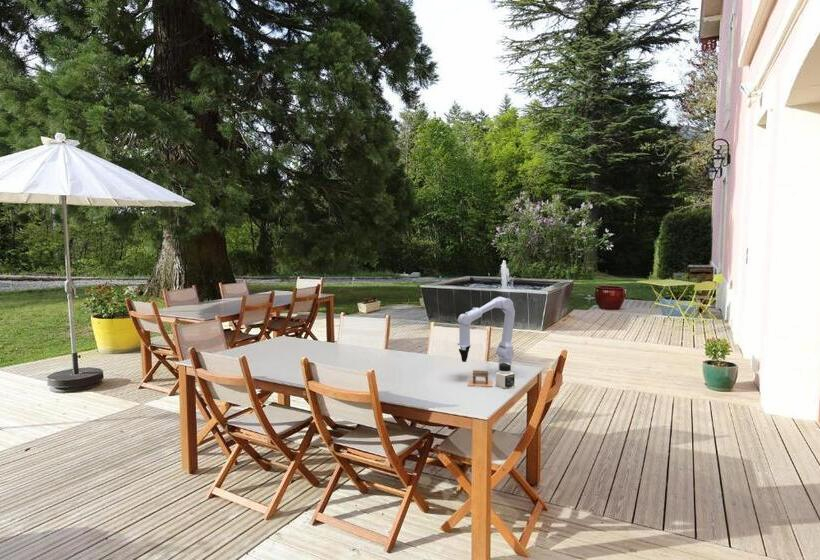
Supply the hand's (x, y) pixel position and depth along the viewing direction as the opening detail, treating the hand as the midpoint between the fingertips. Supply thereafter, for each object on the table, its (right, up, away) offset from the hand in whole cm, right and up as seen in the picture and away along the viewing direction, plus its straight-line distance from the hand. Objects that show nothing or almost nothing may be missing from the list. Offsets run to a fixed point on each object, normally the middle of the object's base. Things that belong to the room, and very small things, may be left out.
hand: (464, 360), depth 292 cm
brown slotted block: (+7, -11, -10) cm, 16 cm away
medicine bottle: (+20, -12, -14) cm, 27 cm away
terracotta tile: (+7, -11, -9) cm, 16 cm away
